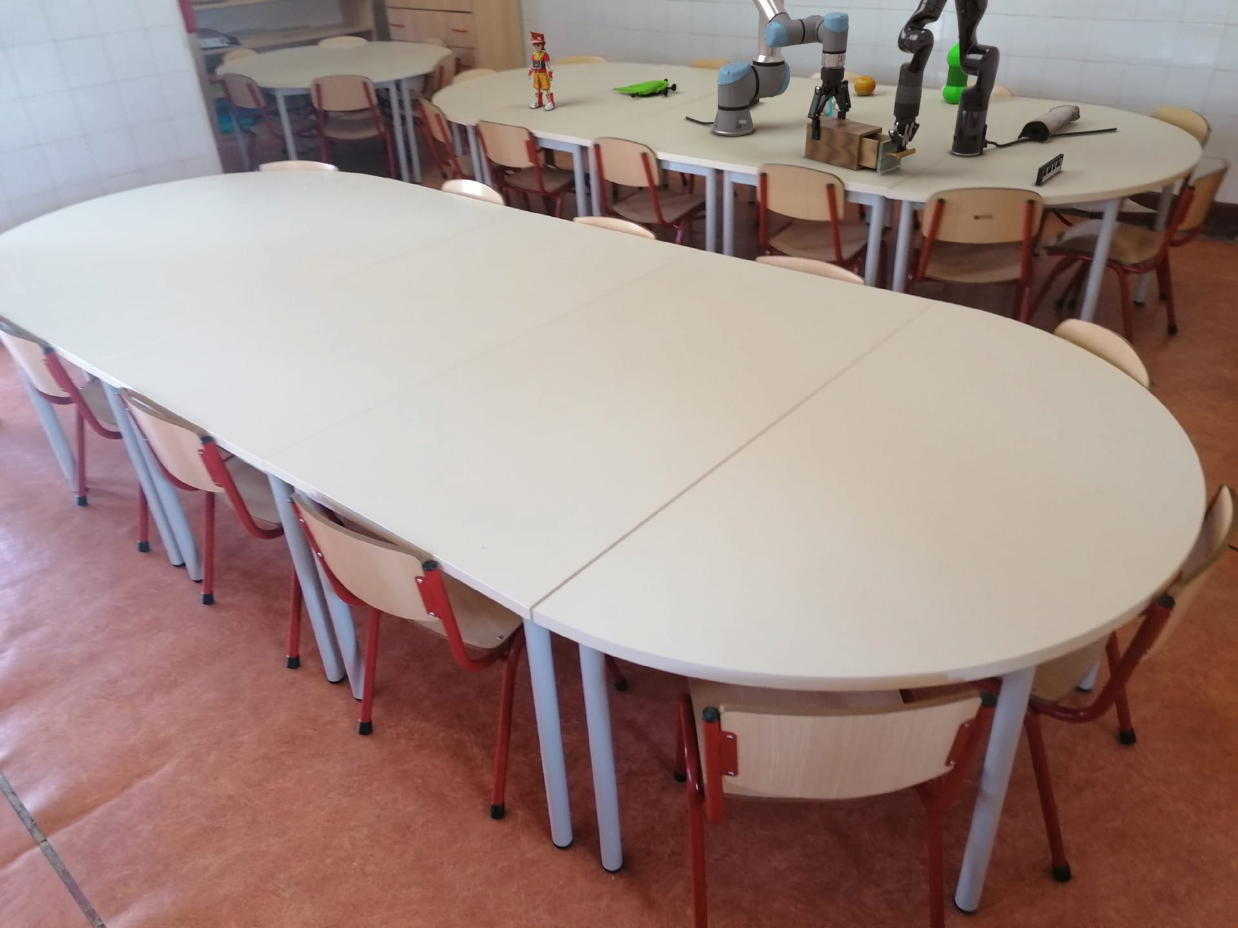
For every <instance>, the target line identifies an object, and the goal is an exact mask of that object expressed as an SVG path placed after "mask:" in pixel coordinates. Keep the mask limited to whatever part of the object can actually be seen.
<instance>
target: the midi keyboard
mask: <svg viewBox="0 0 1238 928" xmlns="http://www.w3.org/2000/svg"><path fill="white" fill-rule="evenodd" d="M1064 157H1065V153H1059V154H1058V155H1056V156H1055V157H1052V159H1051V160H1049V161H1047V162H1045V164H1042V165H1041V166H1039V167H1038V169H1037V175H1036V179H1035V186H1040V185H1042V183H1044V182H1045V181H1047V180H1048V179H1049V178H1051V177H1052V176H1054V175H1055V174H1056V173H1058V172H1060V171H1061V170H1062V165H1063V161H1064Z"/></svg>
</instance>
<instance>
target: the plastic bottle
mask: <svg viewBox="0 0 1238 928" xmlns="http://www.w3.org/2000/svg"><path fill="white" fill-rule="evenodd" d="M957 39H959V34H958V36H957ZM946 63H947V64H948V69H947V70H948V71H947V76H946V77H947V78H946V84H945V85H944V87H943V90H942V97H943V99H944V100H945V101H946V102H947V103H948V104H959V100H960V93H961V90H962V89H963V88H965V87H969V85H968V79H969V75H966V74H964V73H963V72H962V71H961V69H960V64H959V42H957V43H956V44H954V45H953V46H952V47H951V48H950V49H949V50H948V52H947V54H946Z"/></svg>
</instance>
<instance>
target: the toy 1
mask: <svg viewBox="0 0 1238 928" xmlns="http://www.w3.org/2000/svg"><path fill="white" fill-rule="evenodd" d="M529 33H530V35H531V36H528V37H527V38H528V39H529V40H528V41H527V43H529V44H530V43H531V44H532V48H533V50H534V51H533V52H532V55H531V58H530V59H531V63H530V66H528V74H527V75H528V76H527V77H528V79H529V80H531V75H532V74H533V84H532V85H533V86H532V87H533V88H534V89H535V90H536V92H534V95H535V97H536V100H535V101H533V102H531V105H530V108H531V109H535V108H538V107H542V106H544V101H543V100H544V99H543V95H544V92H546V94H545V97H546V99H547V103H546V104H545V106H544V110H546V111H549V110H553V109H554V107H555V106H556V105H555V99H554V92H551V91H550V90H551V86H552V84H551V82H552V81H553V80H554V77H553V73H554V71H555V70H554V69H552V68H551V63H550V61H551V59H550V58H551V57H550V54H549V53H548V52H547V50H546V48H545V46H546V44H547V41H545V35H544V33H543V32H542V33H539V32H535V31H529Z"/></svg>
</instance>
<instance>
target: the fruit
mask: <svg viewBox="0 0 1238 928" xmlns="http://www.w3.org/2000/svg"><path fill="white" fill-rule="evenodd" d="M876 87H877V83H876V80H875V79H874V78H873V77H872V76H870V75H864V76H860V77H858V78H856V80H855V82H854V85H853V89H854V92H855V93H856V94H857V95H859V96H869V95H871V94H873V92H875V90H876Z"/></svg>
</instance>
